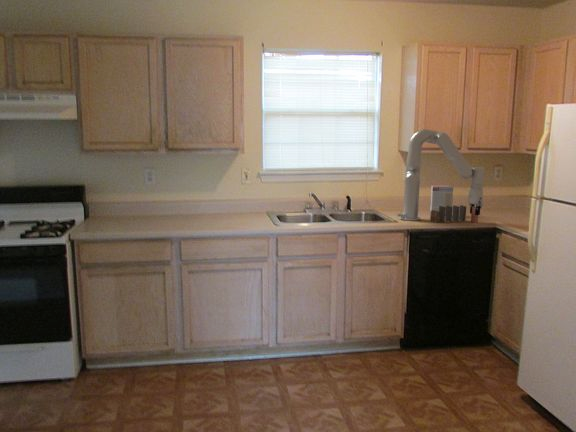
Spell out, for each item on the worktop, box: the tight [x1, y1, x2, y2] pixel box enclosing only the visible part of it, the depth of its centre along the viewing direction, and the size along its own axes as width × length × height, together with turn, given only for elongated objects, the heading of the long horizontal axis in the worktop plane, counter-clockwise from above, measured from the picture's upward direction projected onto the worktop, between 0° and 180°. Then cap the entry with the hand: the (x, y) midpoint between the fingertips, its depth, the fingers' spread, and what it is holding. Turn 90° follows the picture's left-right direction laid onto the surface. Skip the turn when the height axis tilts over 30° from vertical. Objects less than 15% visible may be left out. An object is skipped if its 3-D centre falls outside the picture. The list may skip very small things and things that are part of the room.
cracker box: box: [429, 184, 454, 217], centre depth 355 cm, size 14×6×21 cm, turn 84°
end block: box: [429, 210, 440, 224], centre depth 332 cm, size 2×7×7 cm, turn 14°
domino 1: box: [439, 206, 446, 223], centre depth 333 cm, size 2×5×10 cm, turn 13°
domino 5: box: [470, 206, 479, 224], centre depth 331 cm, size 2×5×10 cm, turn 13°
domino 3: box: [452, 205, 460, 223], centre depth 335 cm, size 2×5×10 cm, turn 13°
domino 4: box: [459, 204, 467, 222], centre depth 336 cm, size 2×5×10 cm, turn 13°
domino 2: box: [445, 206, 453, 223], centre depth 334 cm, size 2×5×10 cm, turn 13°
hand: (474, 214), depth 331 cm, fingers closed on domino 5, 4 cm apart
